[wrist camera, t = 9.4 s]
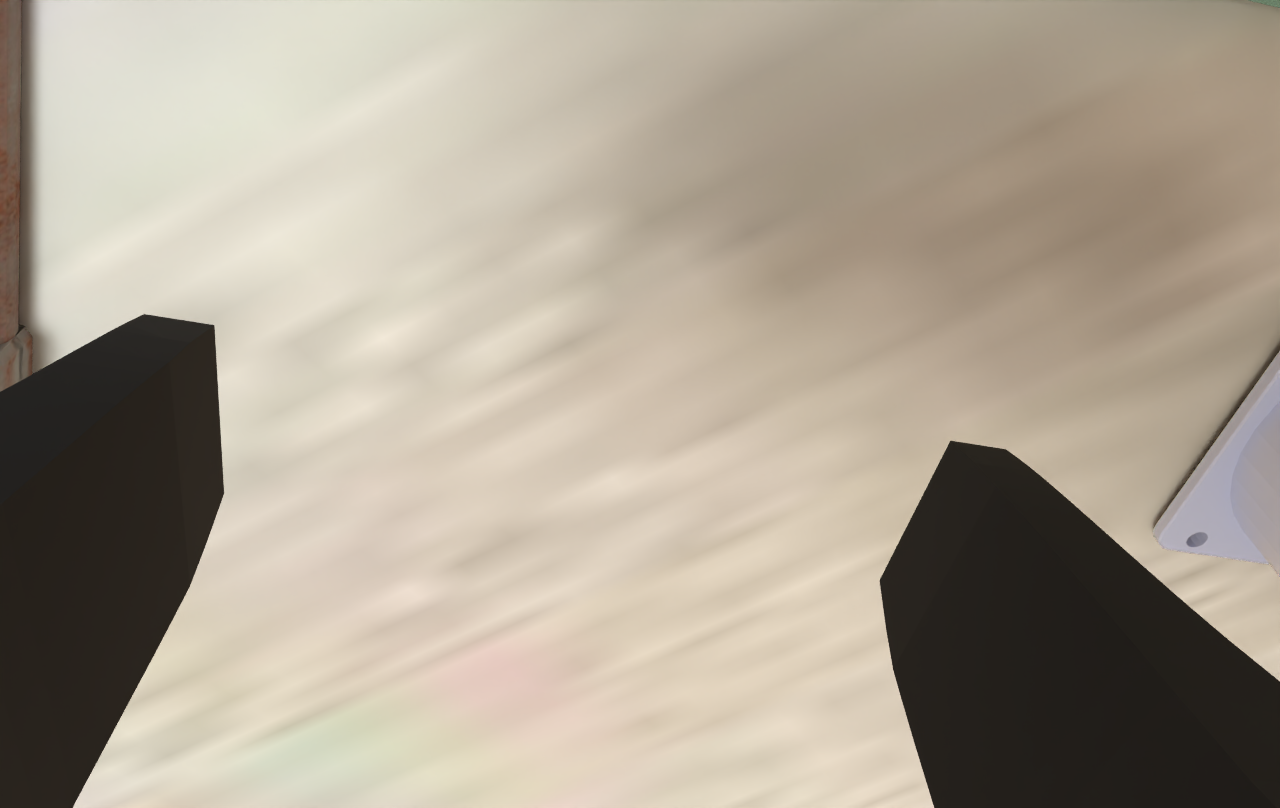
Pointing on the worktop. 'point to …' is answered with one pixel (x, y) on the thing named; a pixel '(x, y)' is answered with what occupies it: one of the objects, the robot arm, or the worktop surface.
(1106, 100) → the worktop surface
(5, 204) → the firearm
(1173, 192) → the worktop surface
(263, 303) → the worktop surface
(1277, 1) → the board
